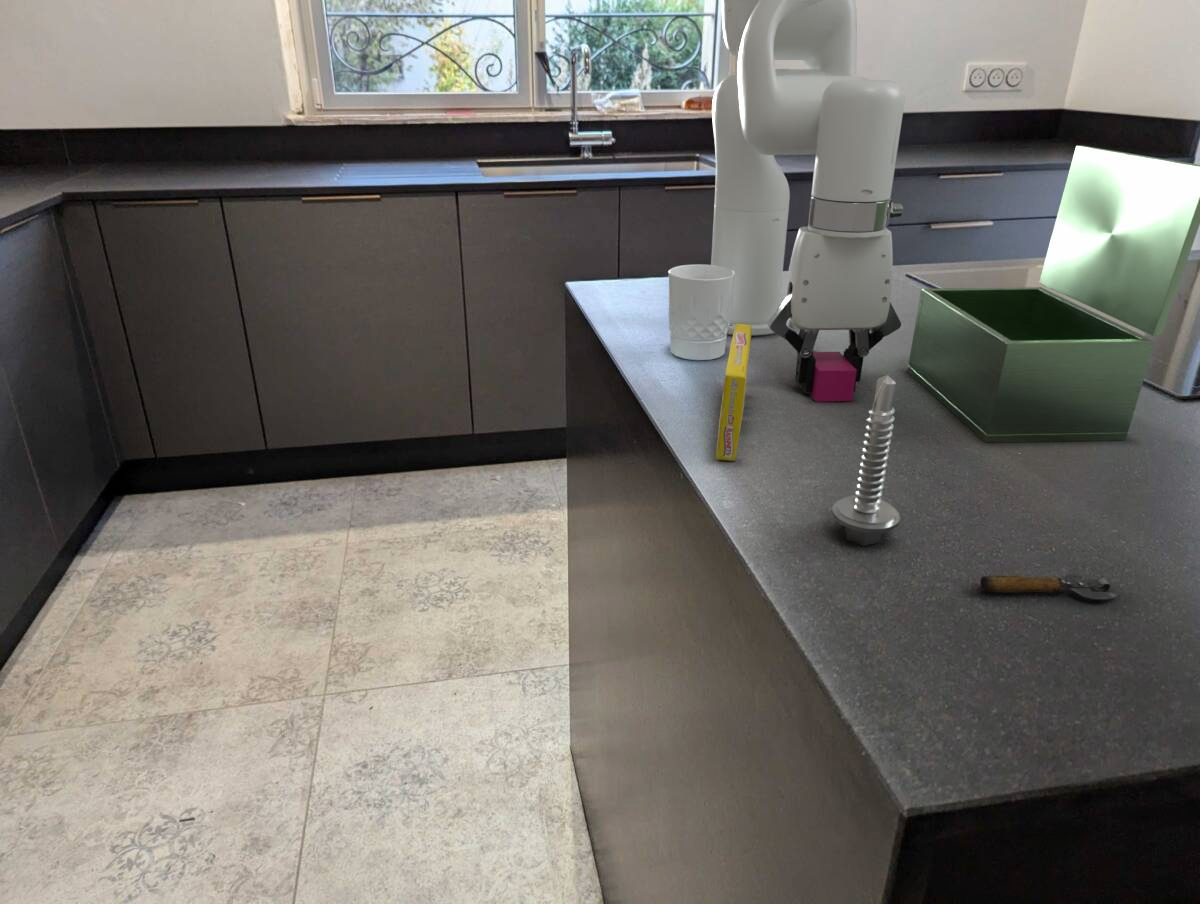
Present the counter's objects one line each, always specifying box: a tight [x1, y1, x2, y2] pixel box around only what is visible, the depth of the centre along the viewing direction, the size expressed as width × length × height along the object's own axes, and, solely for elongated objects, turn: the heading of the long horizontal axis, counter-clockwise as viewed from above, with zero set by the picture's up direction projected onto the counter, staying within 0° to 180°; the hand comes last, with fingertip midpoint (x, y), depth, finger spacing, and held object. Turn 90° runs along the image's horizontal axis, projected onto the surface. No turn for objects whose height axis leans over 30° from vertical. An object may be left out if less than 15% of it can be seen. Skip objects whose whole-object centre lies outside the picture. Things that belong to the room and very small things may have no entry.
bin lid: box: [1038, 145, 1200, 337], centre depth 80 cm, size 14×20×6 cm
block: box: [808, 351, 857, 403], centre depth 89 cm, size 4×6×4 cm, turn 2°
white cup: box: [668, 263, 735, 361], centre depth 100 cm, size 8×8×10 cm
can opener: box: [980, 573, 1122, 601], centre depth 56 cm, size 9×2×1 cm, turn 83°
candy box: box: [715, 324, 752, 462], centre depth 79 cm, size 16×2×8 cm, turn 168°
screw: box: [831, 374, 901, 547], centre depth 60 cm, size 13×5×5 cm
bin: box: [906, 286, 1156, 444], centre depth 85 cm, size 14×20×10 cm
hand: (826, 386), depth 89 cm, fingers closed on block, 4 cm apart
